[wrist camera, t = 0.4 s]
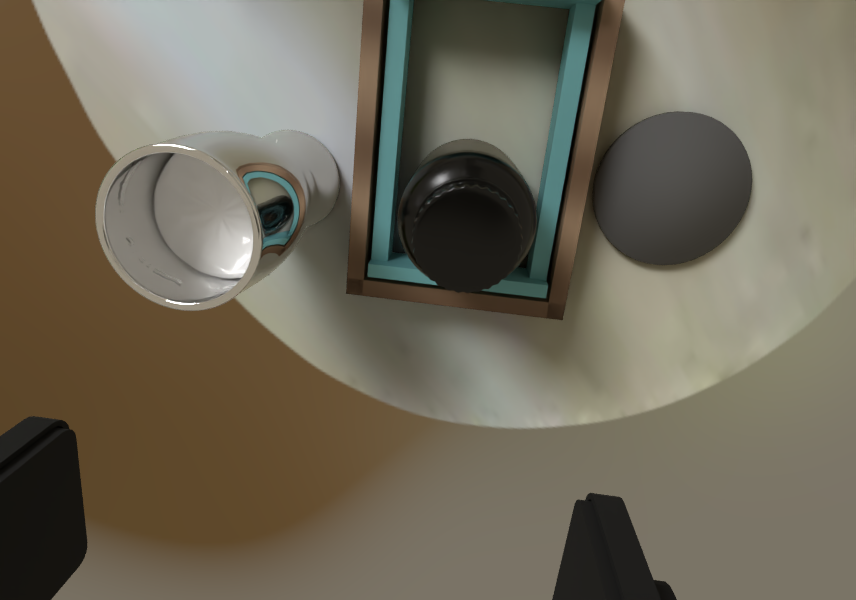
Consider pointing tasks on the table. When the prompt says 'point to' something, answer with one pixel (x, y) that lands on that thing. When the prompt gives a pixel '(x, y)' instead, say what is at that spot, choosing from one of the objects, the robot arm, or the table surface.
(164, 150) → the beer glass
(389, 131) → the teal drawer
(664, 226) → the coaster
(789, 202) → the table surface
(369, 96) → the walnut cubby
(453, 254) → the supplement bottle
